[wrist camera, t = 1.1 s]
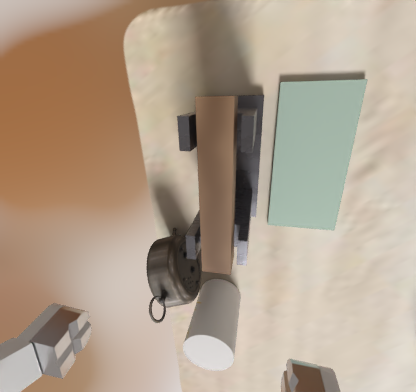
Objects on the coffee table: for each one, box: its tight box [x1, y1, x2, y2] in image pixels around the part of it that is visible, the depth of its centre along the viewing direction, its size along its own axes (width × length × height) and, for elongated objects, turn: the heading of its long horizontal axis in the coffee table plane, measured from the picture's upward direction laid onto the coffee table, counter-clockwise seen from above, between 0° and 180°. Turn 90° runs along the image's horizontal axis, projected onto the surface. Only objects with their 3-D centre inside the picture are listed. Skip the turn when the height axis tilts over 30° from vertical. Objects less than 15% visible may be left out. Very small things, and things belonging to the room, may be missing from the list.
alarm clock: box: [147, 228, 201, 323], centre depth 37 cm, size 11×5×16 cm, turn 21°
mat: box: [268, 79, 367, 230], centre depth 34 cm, size 10×21×1 cm, turn 1°
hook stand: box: [177, 95, 264, 266], centre depth 29 cm, size 8×18×15 cm, turn 1°
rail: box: [195, 96, 238, 275], centre depth 24 cm, size 3×18×3 cm, turn 1°
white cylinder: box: [183, 279, 241, 371], centre depth 42 cm, size 8×8×12 cm
